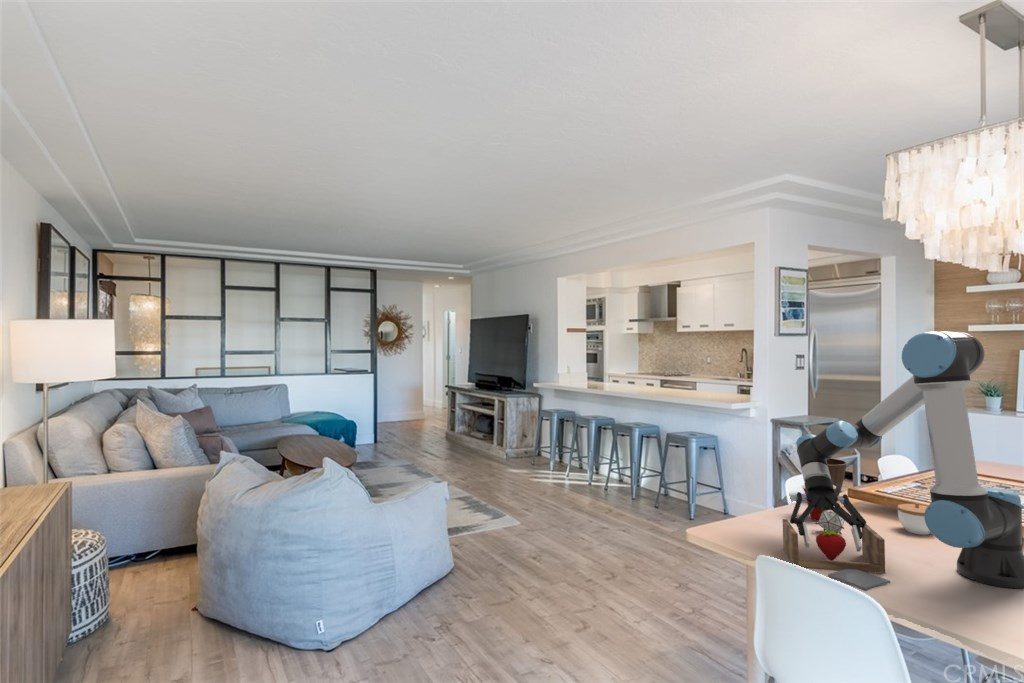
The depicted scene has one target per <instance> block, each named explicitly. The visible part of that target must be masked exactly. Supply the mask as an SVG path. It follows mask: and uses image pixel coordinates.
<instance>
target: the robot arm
mask: <svg viewBox="0 0 1024 683" xmlns="http://www.w3.org/2000/svg"><path fill="white" fill-rule="evenodd" d="M984 359H985V349H984V346H983V344H982V343H981V342H980V340H979V339H978V338H977V337H975V336H974V335H972V334H970V333H967V332H963V331H957V330H956V331H945V330H944V331H941V330H940V331H939V330H935V331H933V330H930V331H925V332H921V333H918V334H915V335H913V336H912V337H911V338H909V340H908V341H907V342H905V344H904V346H903V348H902V351H901V360H902V361H901V362H902V364H903V366H904V368H905V369H906V371H908V372H909V373H910V374H911V375H912V376H911V377H910V378H908V379H907V380H906V381H905V382H904V383H902V384H901V385H900V386H899V387H897V388H896V389H894V391H892V392H891V393H890V394H889V395H888V396H886V397H885V398H884V399H883V400H881V402H879V403H878V404H876V405H875V406H874V407H873V408H872V409H870V410H869V411H868V412H867V413H865V415H863V416H862V417H861V418H860V419H858V420H857V421H856V422H854V423H853V424H851V423H850V422H848V421H844V420H838V421H836V422H834V423H831V424H830V425H829V426H827V427H826V428H825V429H824V430H822V431H821V432H819V433H818V434H817V435H816V434H811V433H809V434H808V433H807V434H805V435H801V436H800V437H798V439H797V440H796V443H795V444H796V452H797V456H798V460H799V464H800V468H801V473H802V478H803V482H804V484H803V485H805V488H806V493H807V494H805V493H803V494H802V492H799V491H798V492H797V493H796V496H795V500H796V502H795V504H794V507H793V510H792V513H791V516H790V519H789V523H790V524H791V525H793V524H795V525H796V527H797V530H798V535H799V536H802V537H803V541H804V547H805V549H809V548H810V545H811V542H810V536H809V531H808V527H807V522H805V521H806V520H807V519H808V517H809V516H810V513H811V512H812V511H813V510H814V509H815V508H816V509H818V510H823V509H824V510H830V509H831V510H832V511H833V512H834V513H837V514H838V515H839V516H840V517H841V518H842V519H844V520H845V521H844V522H846V523H847V525H849V527H851V529H850V531H851V535H852V537H853V541H854V542H853V543H854V545H855V549H856V552H858V553H859V552H861V551H862V541H861V540H862V528H864V527H865V525H866V524H867V520H866V519H865V518H864V517H863V516H862V515H861V514H860V512H859V510H857V508H856V507H855V506H854V505H853V504H852V502H851V501H850V499H849V496H848V494H846V493H844V494H842V495H839V496H837V495H836V494H835V492H834V488H833V484H832V481H831V476H830V473H829V469H828V465H827V460H828V459H829V458H833V457H834V456H836V455H837V454H839V453H840V452H844V451H850V450H857V449H870V448H872V447H875V446H877V445H879V444H880V443H881V441H882V439H883V436H884V435H886V434H887V433H888V432H889V431H891V430H892V429H893V428H895V427H896V426H898V425H899V424H901V423H902V421H904V420H905V419H907V418H908V417H910V415H912V414H913V413H915V412H917V410H919V409H920V408H921V407H923V405H924V409H925V415H926V416H925V417H926V422H927V430H928V436H929V443H930V450H931V457H932V464H933V471H934V478H935V484H934V485H933V486H931V488H930V489H929V493H930V500H931V503H929V504H928V505H927V506H928V507H927V508H926V510H925V514H924V518H925V523H926V525H927V527H928V529H929V530H930V534H932V535H933V536H934V537H935V538H937V539H938V541H940V542H941V543H943V544H945V545H946V546H949V547H952V548H953V547H954V548H958V549H961V550H960V552H959V555H958V557H957V560H956V571H957V573H959V574H960V575H961V576H963V577H965V578H967V579H969V580H972V581H975V582H977V583H981V584H985V585H990V586H995V587H1001V588H1008V589H1024V551H1023V522H1022V521H1023V518H1022V517H1023V516H1022V514H1023V512H1022V510H1023V506H1022V501H1021V497H1020V495H1019V494H1018V493H1016V492H1014V491H1009V490H1005V489H1000V488H995V487H986V486H982V485H980V484H979V478H978V472H977V465H976V464H977V463H976V458H975V452H974V444H973V439H972V432H971V425H970V419H969V414H968V413H969V412H968V405H967V399H966V393H965V392H966V391H965V388H966V387H967V386H968V385H969V384H970V383H971V377H970V376H971V375H972V374H973V373H974V372H976V371H977V370H978V369H979V368H980V367H981V365H982V364H983V362H984ZM805 500H806V502H807V501H808V502H809V503H810V504H809V506H808V505H807V506H806V508H805V510H804V511H803V512H802V513H801V515H800V516H799V518H798V517H797V516H798V513H799V511H800V508H801V505H802V503H803V502H805ZM838 502H840V504H841V505H843V507H842V506H841V505H840V504H839V503H838Z"/></svg>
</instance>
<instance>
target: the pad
mask: <svg viewBox="0 0 1024 683" xmlns="http://www.w3.org/2000/svg"><path fill="white" fill-rule="evenodd" d="M827 577H829V578H831V579H833V580H837V581H840V582H841V583H842V582H843V583H844V584H847V585H850V586H852V587H855V588H858V589H861V590H863V591H869V590H872V589H875V588H878V587H881V586H884V585H888V584H891V580H890V579H887V578H885V577H881V576H878V575H875V574H873V573H871V572H864V571H861V570H859V569H850V568H848V569H844V570H837V571H835V572H831V573H828V574H827Z"/></svg>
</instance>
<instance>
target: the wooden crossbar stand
mask: <svg viewBox="0 0 1024 683" xmlns="http://www.w3.org/2000/svg"><path fill="white" fill-rule="evenodd" d="M861 532H862V539H861V545H862V548H861V552H862V553H861V554H862V556H863V557H864V558H865V559H866V560H867V562H860V561H857V562H856V561H843V560H829V559H817V558H816V559H815V558H806V557H799V536H798V535H799V533H797V531H796V530H795V529H794V527H793V526H792V524H791V523H790V521H789V520H788V519H785V518H784V519H782V542H783V544H782V546H783V547H782V549H783V551H784V553H785V554H786V557H787V558H788V559H789V561H790V562H791V564H792V563H794V564H796V565H799V566H802V567H801V568H809V569H821V570H823V569H824V570H834V571H836V570H837V571H841V570H844V569H848V568H850V569H859V570H861V571H864V572H867V573H872V574H873V573H874V574H875V573H876V574H877V573H878V574H886V545H885V538H884V537H882V536H881V535H880V534H879V533H877V532H876V531H875V530H874V529H872V528H871V526H869V525H868V524H867V523H866V525H865V527H864V528H861Z"/></svg>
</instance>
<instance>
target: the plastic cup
mask: <svg viewBox="0 0 1024 683" xmlns="http://www.w3.org/2000/svg"><path fill="white" fill-rule="evenodd" d="M801 488H802V489H803V492H804V494H805V495H806V494H807V493H806V488H805V484H803V485H801ZM833 488H834V491H835V489H836V486H834V485H833ZM806 503H807V507H808V506H809V504H810V503H809V502H808V501H807V500H806ZM830 510H831V509H830ZM823 511H826V510H824V509H823ZM821 513H822V511H821V510H818V509H816V508H815V509H814V510H813V511H812V512H811V513H810V515H809V516H810V519H811V520H812V521H817V522H818V521H819V518H820V516H819V514H820V515H821Z"/></svg>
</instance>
